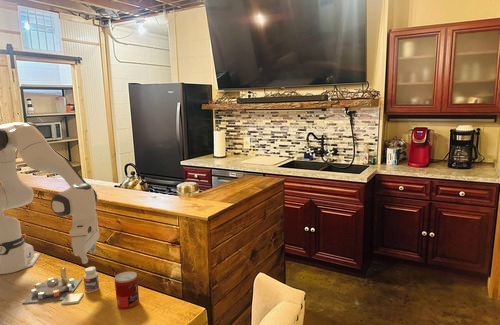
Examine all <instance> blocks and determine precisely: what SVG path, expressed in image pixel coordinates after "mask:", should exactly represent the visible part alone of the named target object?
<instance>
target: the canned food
mask: <svg viewBox="0 0 500 325" xmlns="http://www.w3.org/2000/svg"><path fill="white" fill-rule="evenodd" d="M137 274H138V273H137V272H135V271H123V272H120V273H118V274H116V275H115V277H114V288H115V289H114V290H115V299H116V306H117V307H118V309H121V310H128V309H132V308H134V307H136V306H137V305H138V304H139V301H140V297H139V296H140V295H139V284H138V275H137Z"/></svg>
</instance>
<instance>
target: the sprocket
mask: <svg viewBox="0 0 500 325" xmlns="http://www.w3.org/2000/svg"><path fill="white" fill-rule="evenodd" d="M59 270H60V271H59V272H60V277H55V278H54V277H48V278H47V280H45V281H43V282H37V283H36V284H34V288H33V289H31V294H32V296H36V295H37V296H38V299H44V298H45V297H51V296H54V297H57V296H60V295H59V294H61V293H63V292H65V291H70V290H71V289H72V285H73V284H74V280H75V279H74V278H73V277H72V278H68V275H67V267H65V266H63V267H60V268H59Z"/></svg>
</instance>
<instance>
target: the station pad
mask: <svg viewBox="0 0 500 325" xmlns="http://www.w3.org/2000/svg"><path fill="white" fill-rule="evenodd" d="M83 296H84V293H83V292H78V293H72V294H67V296H66V297H65V298H64V300H63V301H60V303H61V305H62V306H64V305H70V304H79V303H80V301H81V300H82V298H83Z"/></svg>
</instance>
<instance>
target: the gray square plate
mask: <svg viewBox="0 0 500 325" xmlns="http://www.w3.org/2000/svg"><path fill="white" fill-rule="evenodd" d="M81 282H82V279H74V284H73V285H72V289H71V290H70V291H65V292H63V293H61V294H59V295H60V296H57V297H54V296H51V297H45V298H44V299H38V296H37V295H36V296H32V293H30V295H28V297H27V298H26V299H24V301H23V302H22V305H29V304H40V303H50V302H62V301H63V300H64V298H65V297H66V296H67V294H74V292H75V290H76V289H77V287H78V286H79V285H80V283H81Z"/></svg>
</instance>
